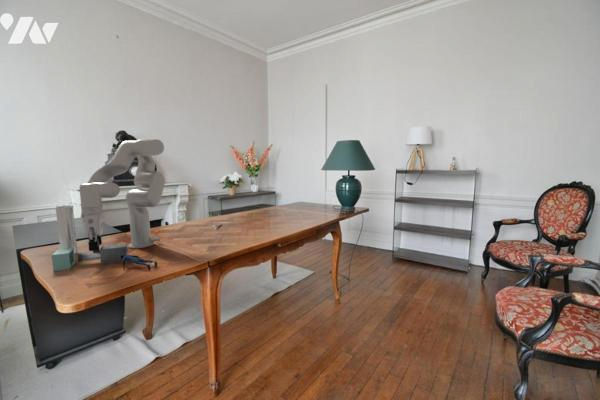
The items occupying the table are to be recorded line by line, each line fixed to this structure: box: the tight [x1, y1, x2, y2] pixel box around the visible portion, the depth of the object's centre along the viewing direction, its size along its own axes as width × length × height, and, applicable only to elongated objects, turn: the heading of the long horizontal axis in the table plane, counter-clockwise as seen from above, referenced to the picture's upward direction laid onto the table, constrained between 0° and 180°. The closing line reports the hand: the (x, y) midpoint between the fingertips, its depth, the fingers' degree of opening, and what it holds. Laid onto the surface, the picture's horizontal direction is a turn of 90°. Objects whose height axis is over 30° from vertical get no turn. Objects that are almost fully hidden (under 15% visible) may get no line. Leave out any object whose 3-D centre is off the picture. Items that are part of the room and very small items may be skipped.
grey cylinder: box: [55, 204, 78, 255], centre depth 139 cm, size 6×6×25 cm
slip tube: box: [77, 239, 101, 263], centre depth 128 cm, size 17×4×10 cm, turn 117°
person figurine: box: [121, 254, 158, 271], centre depth 123 cm, size 11×4×18 cm
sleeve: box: [99, 242, 129, 265], centre depth 131 cm, size 10×7×7 cm
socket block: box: [51, 248, 76, 272], centre depth 123 cm, size 6×9×7 cm, turn 27°
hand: (95, 247), depth 127 cm, fingers open, 9 cm apart
